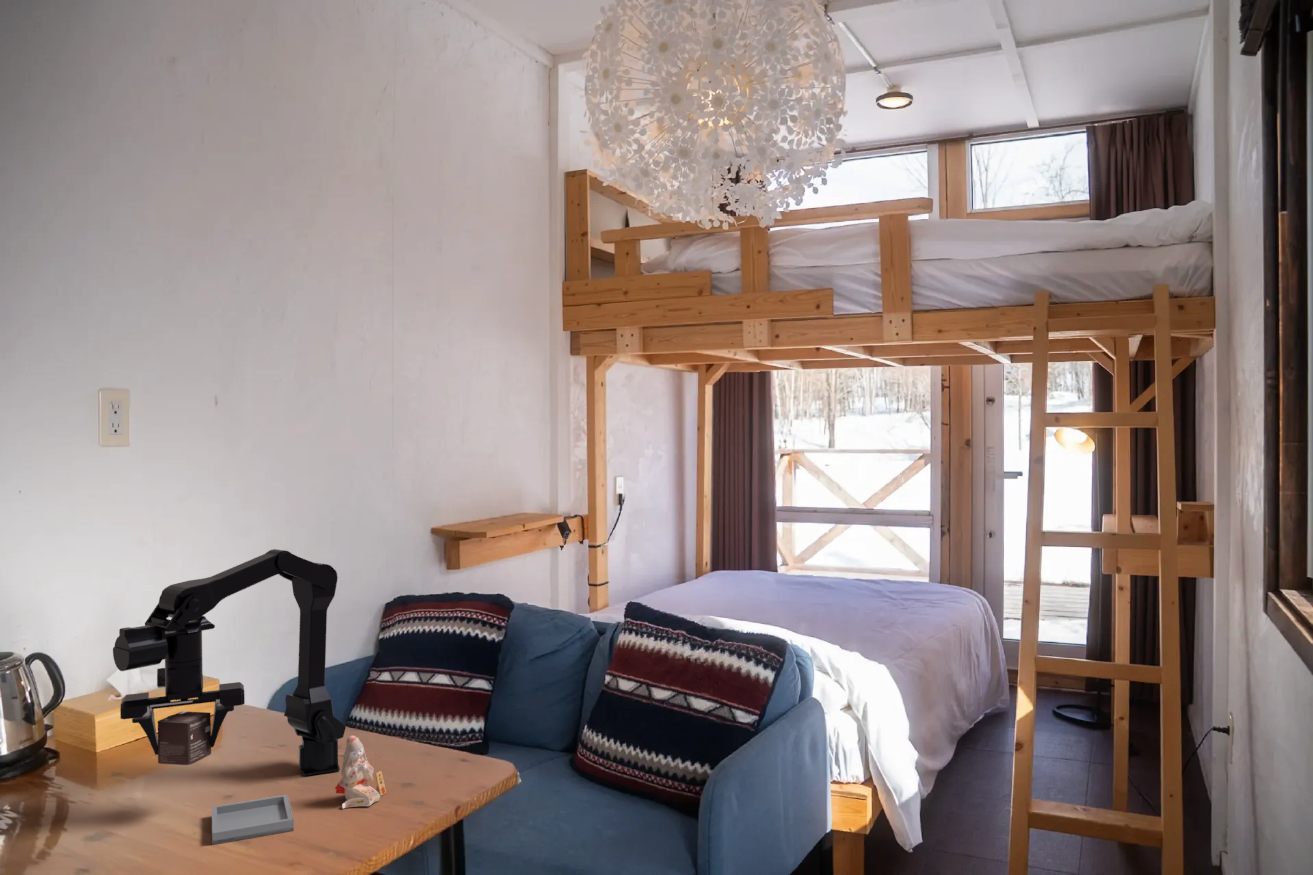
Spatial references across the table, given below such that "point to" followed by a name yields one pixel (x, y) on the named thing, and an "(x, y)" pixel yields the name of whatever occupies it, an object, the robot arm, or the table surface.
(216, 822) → the tray
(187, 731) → the box
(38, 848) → the table surface
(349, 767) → the figurine
